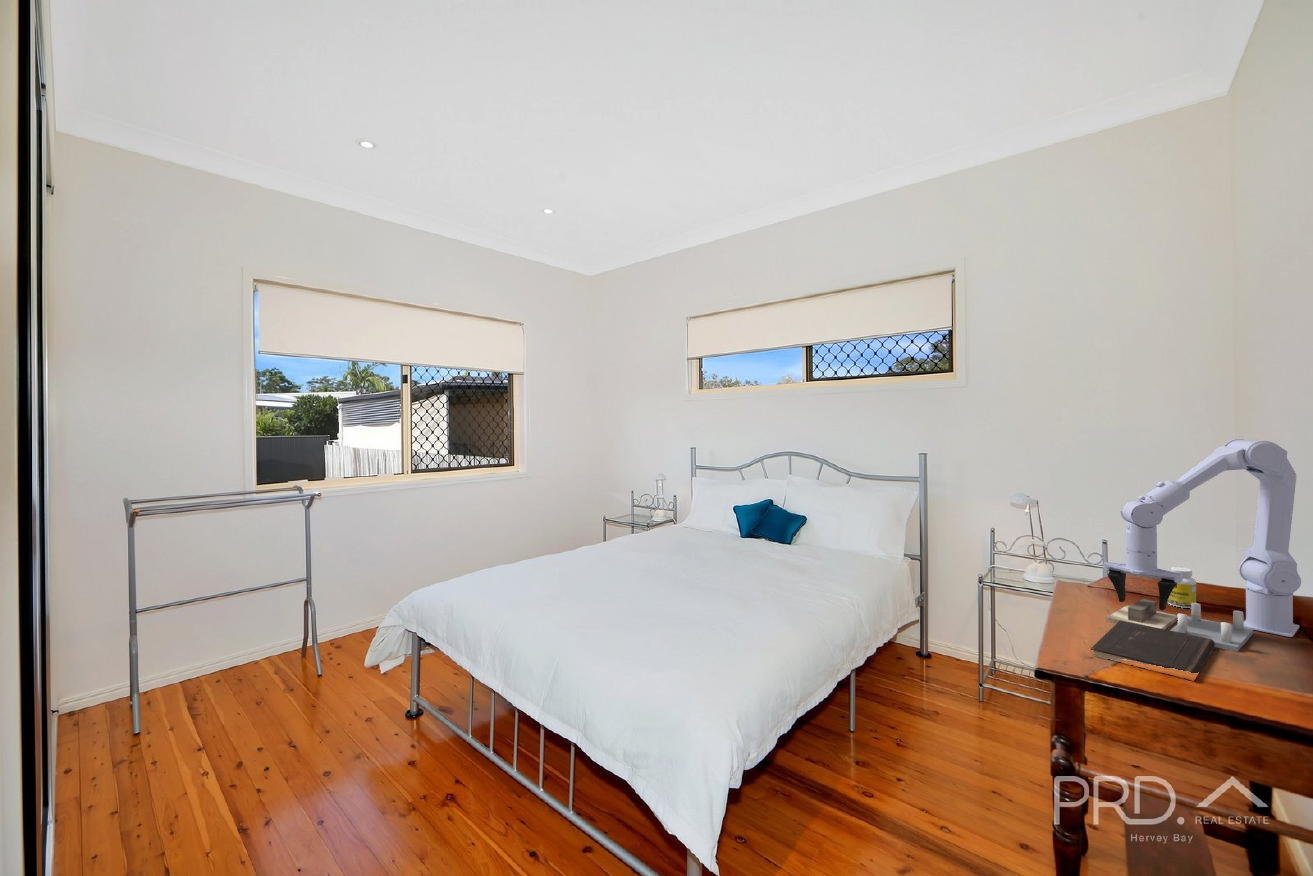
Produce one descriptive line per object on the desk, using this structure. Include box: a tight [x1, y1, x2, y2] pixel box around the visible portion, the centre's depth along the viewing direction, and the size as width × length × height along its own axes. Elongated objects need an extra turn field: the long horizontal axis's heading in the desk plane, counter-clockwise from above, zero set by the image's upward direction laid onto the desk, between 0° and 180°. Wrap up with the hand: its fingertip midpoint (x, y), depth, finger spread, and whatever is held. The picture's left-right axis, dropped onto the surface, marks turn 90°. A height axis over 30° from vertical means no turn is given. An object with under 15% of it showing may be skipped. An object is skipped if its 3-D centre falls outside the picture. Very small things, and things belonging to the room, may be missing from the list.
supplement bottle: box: [1167, 566, 1197, 610], centre depth 142 cm, size 5×5×10 cm
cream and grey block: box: [1105, 598, 1178, 630], centre depth 134 cm, size 14×10×4 cm
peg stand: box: [1169, 602, 1254, 652], centre depth 124 cm, size 15×11×5 cm
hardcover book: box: [1090, 620, 1216, 673], centre depth 117 cm, size 16×23×2 cm
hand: (1141, 605), depth 134 cm, fingers open, 7 cm apart
